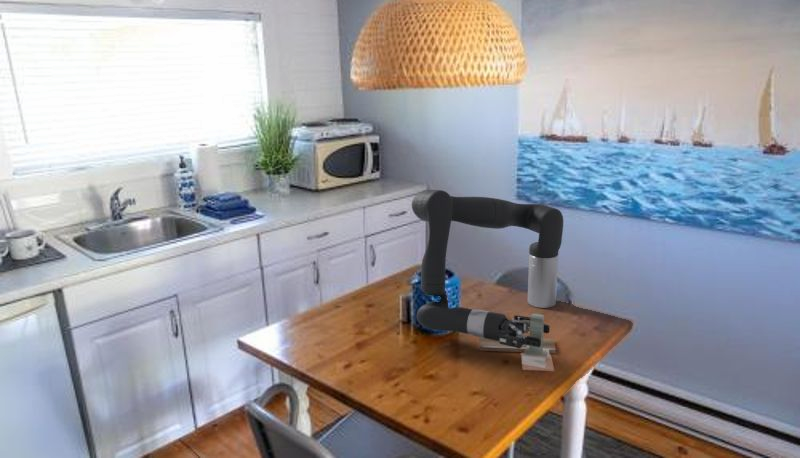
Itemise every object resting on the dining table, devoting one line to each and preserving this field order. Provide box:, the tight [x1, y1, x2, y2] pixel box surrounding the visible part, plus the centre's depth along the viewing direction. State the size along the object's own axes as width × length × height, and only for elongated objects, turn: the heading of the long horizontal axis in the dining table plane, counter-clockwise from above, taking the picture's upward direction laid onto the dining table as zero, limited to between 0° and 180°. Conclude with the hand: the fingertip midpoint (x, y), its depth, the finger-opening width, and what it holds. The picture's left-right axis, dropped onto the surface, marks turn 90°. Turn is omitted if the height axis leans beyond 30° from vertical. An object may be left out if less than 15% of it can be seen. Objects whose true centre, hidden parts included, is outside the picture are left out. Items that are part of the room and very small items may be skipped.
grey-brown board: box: [478, 337, 556, 354], centre depth 162 cm, size 7×21×1 cm, turn 82°
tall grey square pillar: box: [521, 313, 550, 368], centre depth 151 cm, size 6×6×13 cm
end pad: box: [520, 352, 555, 372], centre depth 153 cm, size 8×8×1 cm
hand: (545, 336), depth 149 cm, fingers open, 8 cm apart
